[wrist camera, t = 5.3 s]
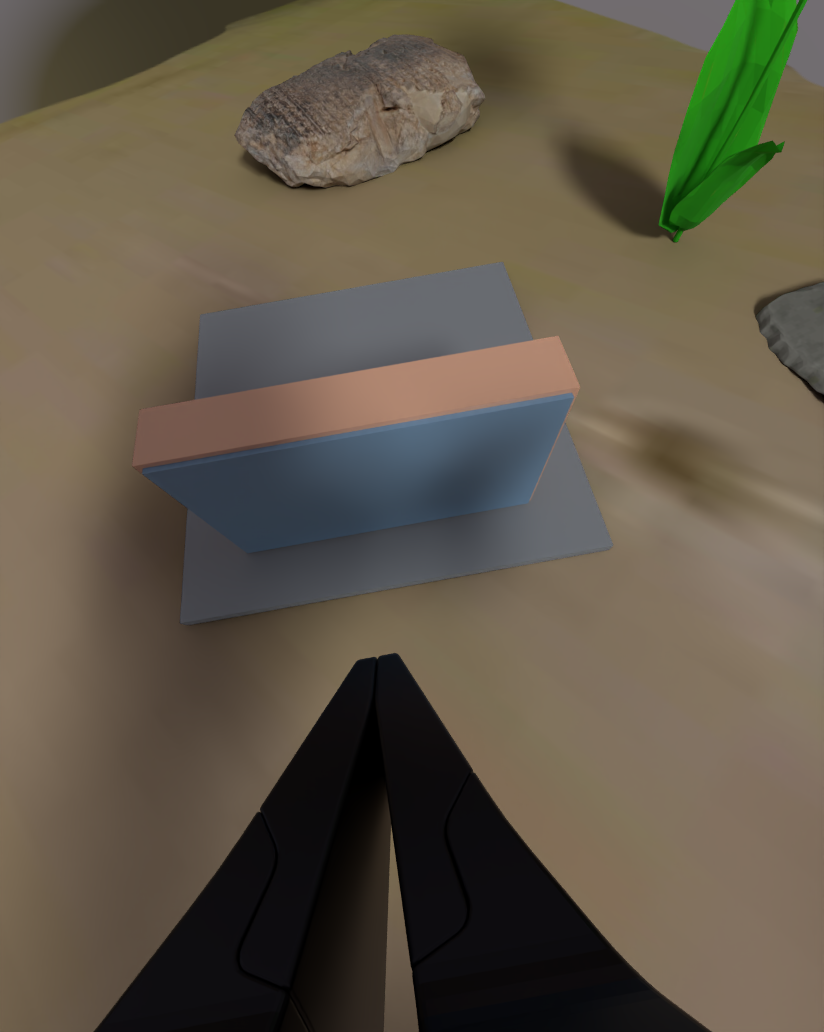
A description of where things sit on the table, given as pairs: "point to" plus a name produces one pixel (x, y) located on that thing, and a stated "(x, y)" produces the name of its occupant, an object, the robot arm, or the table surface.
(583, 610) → the table surface
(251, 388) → the mat
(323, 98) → the clay tablet
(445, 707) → the table surface
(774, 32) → the flower
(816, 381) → the stone slab
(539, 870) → the robot arm
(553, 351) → the tile
